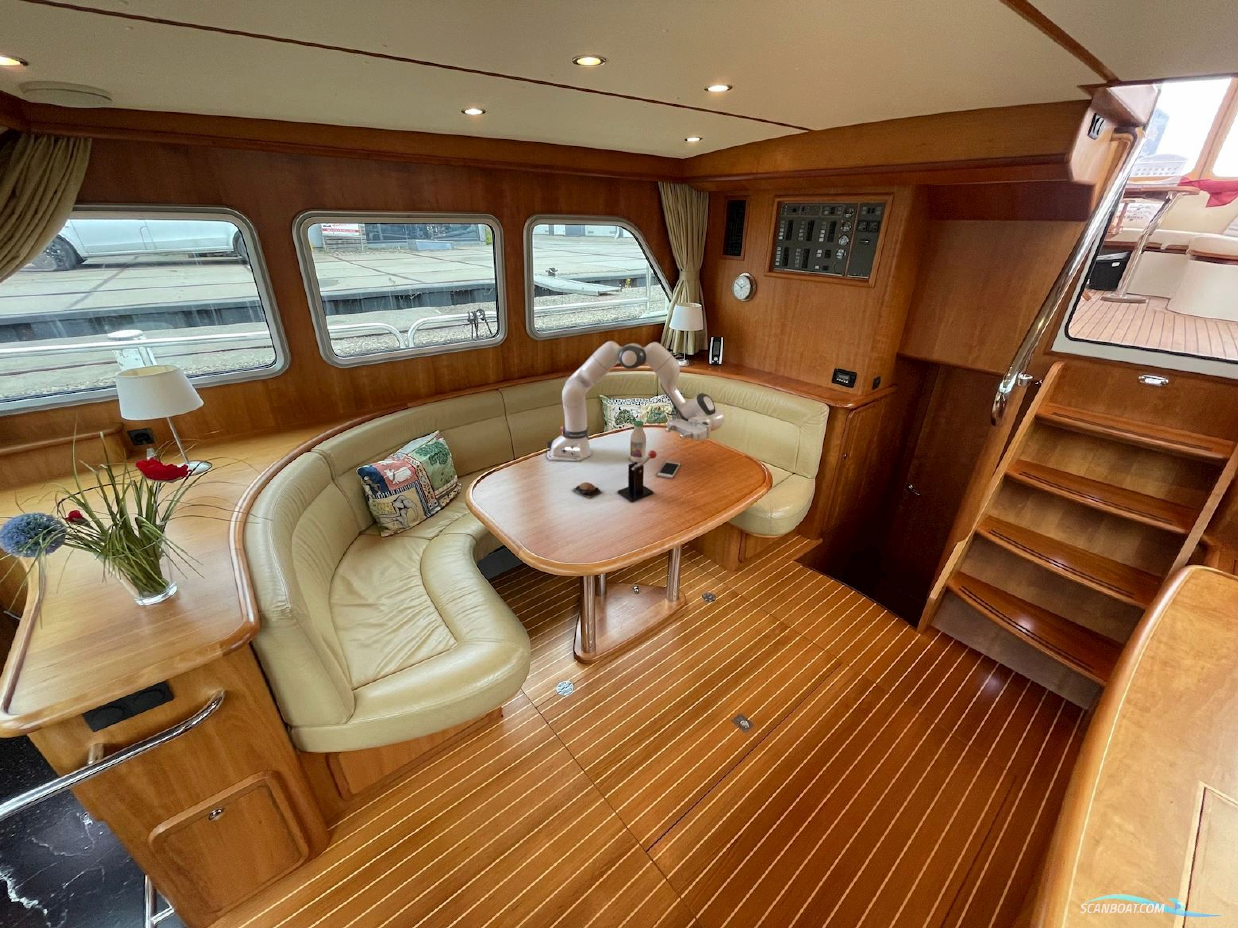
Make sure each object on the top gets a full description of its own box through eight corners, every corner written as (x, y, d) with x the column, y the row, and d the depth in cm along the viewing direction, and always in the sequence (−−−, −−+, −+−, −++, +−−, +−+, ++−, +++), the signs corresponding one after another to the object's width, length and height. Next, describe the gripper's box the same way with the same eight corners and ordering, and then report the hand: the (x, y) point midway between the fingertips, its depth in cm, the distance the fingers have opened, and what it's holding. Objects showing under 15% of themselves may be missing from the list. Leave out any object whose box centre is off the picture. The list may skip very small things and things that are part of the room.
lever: (653, 453, 210) (651, 447, 208) (659, 456, 207) (656, 450, 205) (632, 472, 206) (629, 466, 204) (637, 475, 203) (634, 469, 201)
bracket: (638, 485, 216) (639, 457, 210) (653, 493, 209) (654, 465, 203) (617, 492, 210) (617, 464, 204) (631, 502, 202) (632, 473, 196)
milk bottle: (637, 454, 245) (638, 418, 236) (648, 459, 240) (649, 422, 231) (627, 459, 240) (627, 421, 231) (638, 464, 235) (639, 426, 226)
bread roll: (571, 491, 211) (571, 483, 210) (585, 484, 217) (585, 477, 215) (588, 499, 205) (588, 491, 203) (602, 492, 210) (602, 484, 209)
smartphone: (657, 476, 224) (657, 474, 223) (666, 462, 237) (666, 460, 236) (671, 478, 221) (672, 476, 221) (680, 464, 234) (680, 463, 234)
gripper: (680, 413, 224) (658, 420, 217) (713, 426, 210) (690, 433, 202) (679, 426, 227) (658, 433, 220) (712, 439, 212) (689, 447, 205)
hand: (673, 433), depth 211 cm, fingers open, 8 cm apart
